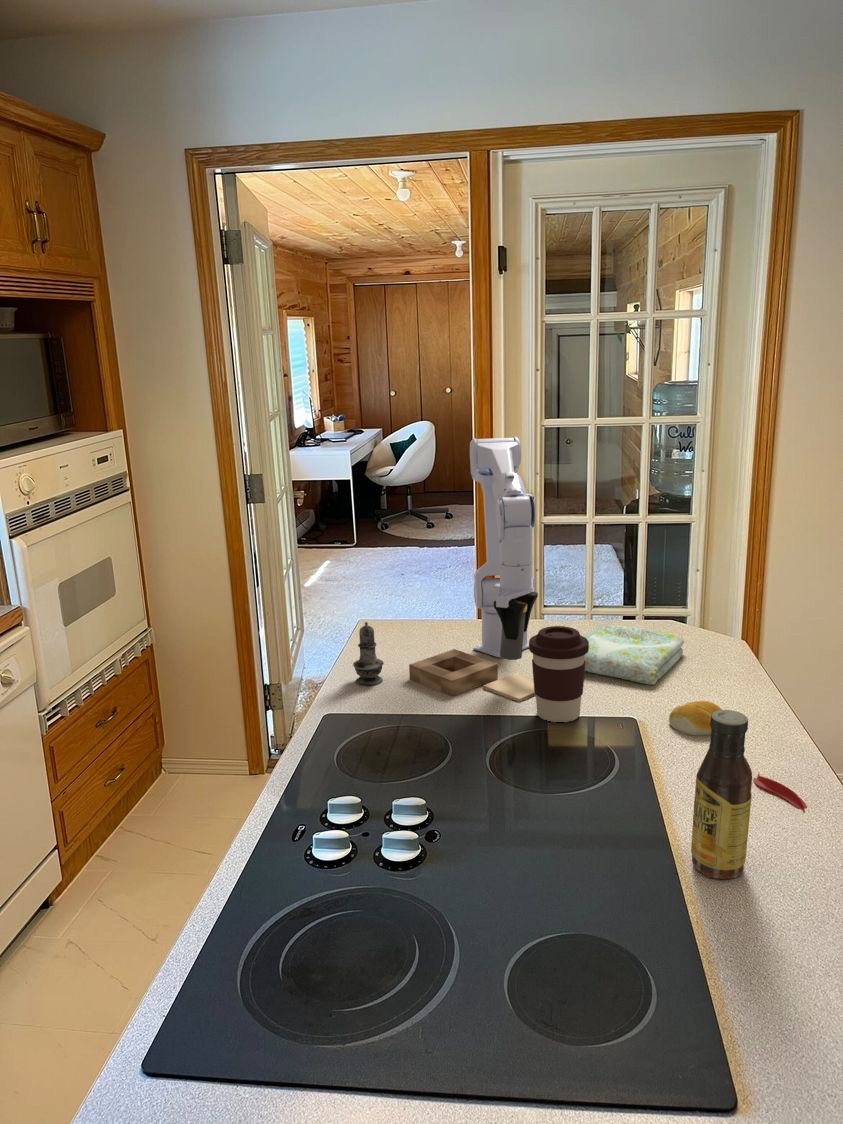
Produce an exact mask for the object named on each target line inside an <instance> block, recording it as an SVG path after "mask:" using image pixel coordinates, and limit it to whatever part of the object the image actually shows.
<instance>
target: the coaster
mask: <svg viewBox="0 0 843 1124" xmlns="http://www.w3.org/2000/svg"><path fill="white" fill-rule="evenodd" d="M482 686H483V689H484V690H487V691H489V692H492V693H495V694H497V695H499V696H502V697H505V698H507V699H510V700H514V701H516V702H518V703H519V702H523V701H525V700H528V699H530V698H532V697H534V696H535V697H536V694H535V692H534V681H533V677H530V676H527V675H524V674H522V673H518V672H514V673H511V674H510V675H507V676H503V677H502V678H498V679H495V680H493V681H490V682H488V683H485V684H482Z"/></svg>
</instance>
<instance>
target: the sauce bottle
mask: <svg viewBox="0 0 843 1124" xmlns="http://www.w3.org/2000/svg"><path fill="white" fill-rule="evenodd" d="M710 726H711V734H710V739H709V740H710V742H709V746H708V748H707V749H708V750H707V752H706V754H705V756H704V758H703V760H702V762H701V765H700V766H699V769H698V770H697V773H696V777H695V788H694V789H695V791H694V801H693V814H692V830H691V834H692V835H691V843H690V846H691V847H690V851H691V852H690V853H691V858H692V859H691V862H692V865H693V867H694V868H695V869H696V870H697V871H699V872H700V873H701V874H703V875H704V876H706V877H707V878H710V879H719V880H731V879H735V878H737V877H739V876H740V875H742V873H743V871H744V869H745V867H744V866H745V863H746V859H747V850H748V849H747V848H748V840H749V827H750V818H751V816H750V815H751V807H752V805H751V804H752V783H753V772H752V768H751V765H750V764H749V762H748V760H747V758H746V756H745V751H746V747H745V743H746V742H745V741H746V733H747V732H748V730H749V719H748V717H747V716H746V715H745V714H743V713H742V712H740V711H737V710H731V709H722V710H718V711H715V712H714V713H713V714H712V715H711V719H710Z"/></svg>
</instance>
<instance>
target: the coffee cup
mask: <svg viewBox="0 0 843 1124" xmlns="http://www.w3.org/2000/svg"><path fill="white" fill-rule="evenodd" d="M583 636H584V635H581V633H580V631H578V629H576V628H574V627H570V626H564V625H563V626H562V625H561V626H560V625H555V626H552V625H551V626H547V627H543V628H541V629H540V630H538V632H537V634H535V635H533V636H531V637H530V638H529V641H528V644H529V648H528V651H529V652H530V653H531V654H532V661H531V664H532V665H531V666H532V678H533V681H534V692H535V694H536V695H535V702H536V703H535V705H536V713H537V716H538V717H539V718H540V719H542V720H544V721H546V720H547V722H549V721H551V723H556V722H564V723H569V721H570V722H573V721H575V720H577V719H578V718H579V717H580V714H581V706H582V695H583V693H584V687H585V686H584V684H585V683H584V682H585V675H586V674H585V672H586V671H585V660H584V658H585V654H586V653H588V651H589V642H588V640H587V639H586V638H585V637H583Z"/></svg>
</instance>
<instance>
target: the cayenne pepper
mask: <svg viewBox="0 0 843 1124" xmlns="http://www.w3.org/2000/svg"><path fill="white" fill-rule="evenodd" d="M752 781H753V782H754V783H753V784H755V786H756V787H758V788H759V789H760V790H762V791H765V792H767V793H769V794H772V795H774V796H777V797H779V798H780V799H782V800H784V801H786V802H787V803H789V804H790V805H792V806H793V808H795V809H797V810H802V811H803V813H805V809H808V806H807V804H806V802H805V801H804V800H803V799H802V798H801V797H799V795H798V794H797V793H796V792H795V791H793V790H792V789H791V788H789V787H788V786H786V785H784V784H782V783H781V782H778V781H776V780H774V779H771V778H768V777H764V776H762V775H760V772H758V773H757V776H756V777H753V778H752Z"/></svg>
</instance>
